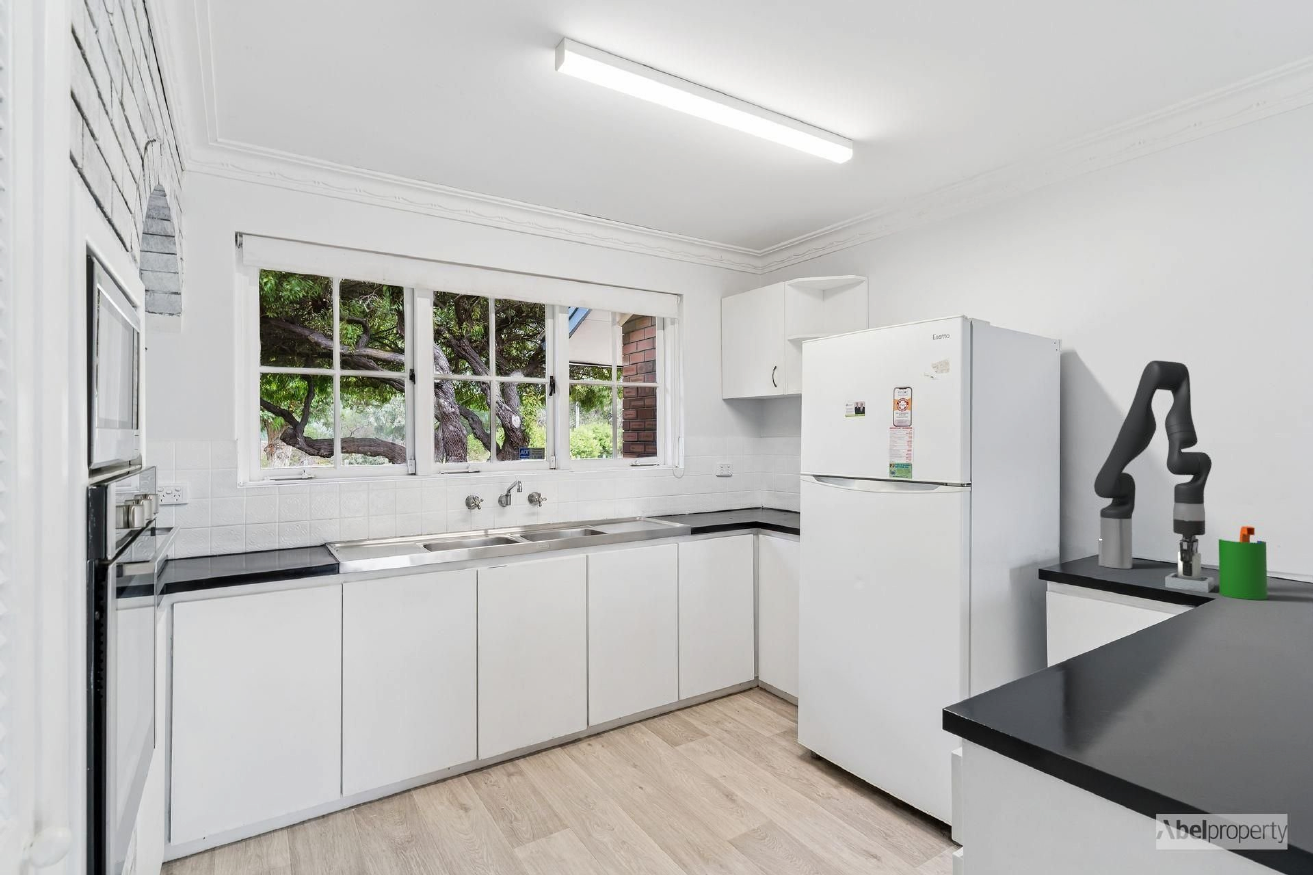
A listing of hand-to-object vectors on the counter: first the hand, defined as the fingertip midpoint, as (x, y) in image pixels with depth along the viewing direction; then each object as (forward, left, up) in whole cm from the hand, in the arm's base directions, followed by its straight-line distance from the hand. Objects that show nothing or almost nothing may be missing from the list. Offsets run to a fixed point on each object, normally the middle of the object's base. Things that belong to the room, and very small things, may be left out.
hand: (1189, 574), depth 201 cm
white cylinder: (0, 0, -2) cm, 2 cm away
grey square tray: (0, 0, -4) cm, 4 cm away
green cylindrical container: (+13, -4, -4) cm, 14 cm away
